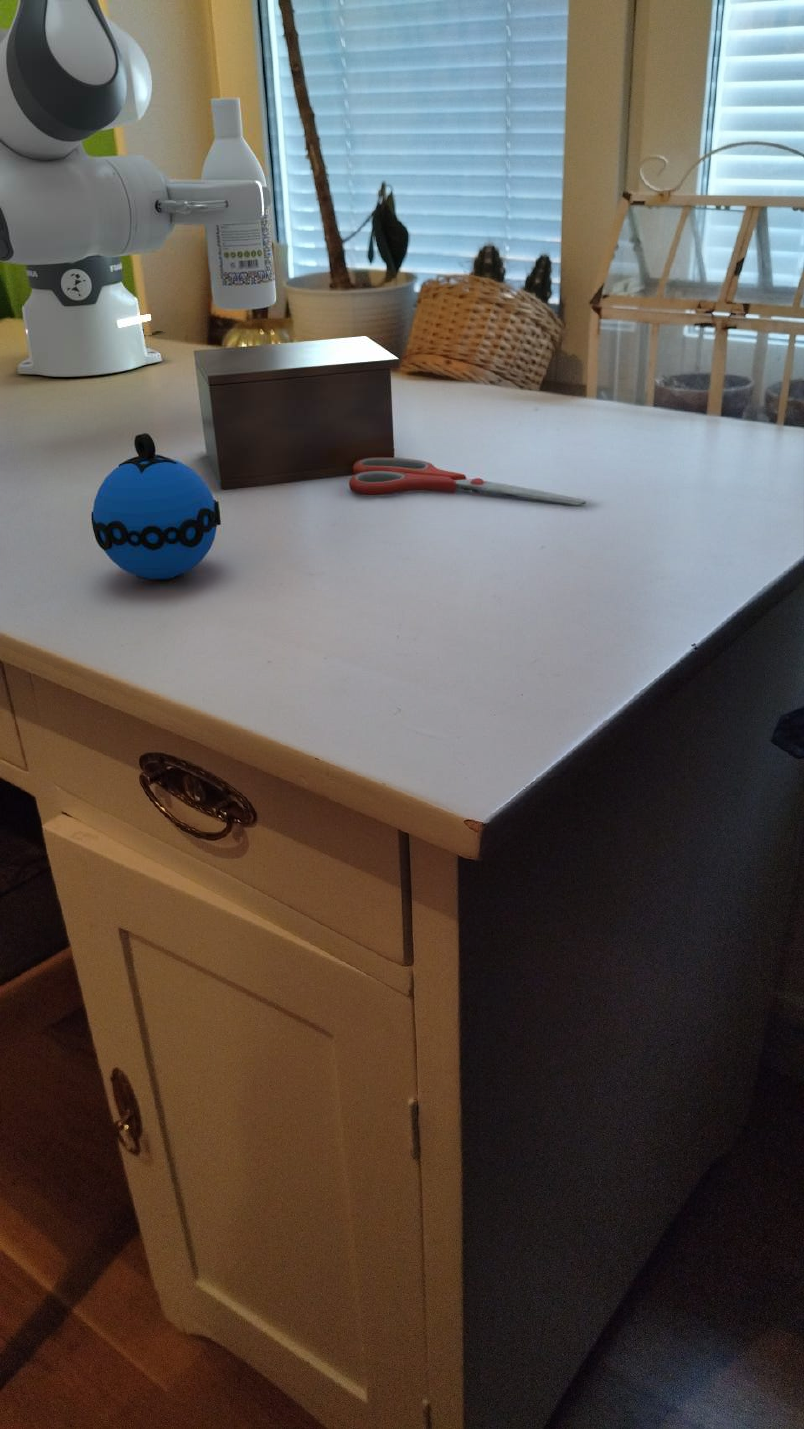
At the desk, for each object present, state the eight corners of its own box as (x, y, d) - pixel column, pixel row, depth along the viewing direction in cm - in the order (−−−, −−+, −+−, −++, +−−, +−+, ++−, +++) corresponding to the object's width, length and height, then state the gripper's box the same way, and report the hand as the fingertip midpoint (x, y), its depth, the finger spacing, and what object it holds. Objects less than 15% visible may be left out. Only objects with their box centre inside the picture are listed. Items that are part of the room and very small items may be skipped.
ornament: (79, 579, 77) (52, 438, 73) (181, 547, 83) (161, 412, 78) (146, 610, 72) (121, 459, 67) (251, 573, 77) (234, 430, 72)
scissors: (584, 507, 87) (585, 489, 86) (334, 496, 92) (332, 479, 92) (596, 479, 93) (597, 462, 93) (361, 471, 99) (360, 454, 98)
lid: (366, 344, 105) (365, 336, 105) (399, 368, 95) (399, 358, 94) (194, 359, 102) (193, 350, 102) (208, 385, 91) (207, 375, 91)
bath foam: (289, 305, 121) (272, 96, 111) (235, 313, 117) (213, 97, 107) (255, 299, 126) (236, 99, 116) (202, 307, 122) (178, 100, 112)
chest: (363, 437, 109) (358, 345, 105) (395, 470, 99) (390, 369, 94) (206, 454, 106) (194, 360, 102) (221, 490, 95) (208, 386, 91)
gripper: (189, 170, 100) (303, 162, 109) (70, 169, 113) (180, 162, 121) (197, 245, 103) (308, 231, 112) (80, 236, 116) (188, 224, 124)
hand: (240, 195), depth 117 cm, fingers closed on bath foam, 7 cm apart
